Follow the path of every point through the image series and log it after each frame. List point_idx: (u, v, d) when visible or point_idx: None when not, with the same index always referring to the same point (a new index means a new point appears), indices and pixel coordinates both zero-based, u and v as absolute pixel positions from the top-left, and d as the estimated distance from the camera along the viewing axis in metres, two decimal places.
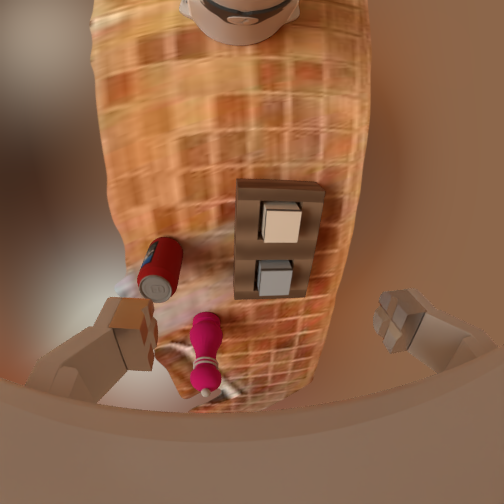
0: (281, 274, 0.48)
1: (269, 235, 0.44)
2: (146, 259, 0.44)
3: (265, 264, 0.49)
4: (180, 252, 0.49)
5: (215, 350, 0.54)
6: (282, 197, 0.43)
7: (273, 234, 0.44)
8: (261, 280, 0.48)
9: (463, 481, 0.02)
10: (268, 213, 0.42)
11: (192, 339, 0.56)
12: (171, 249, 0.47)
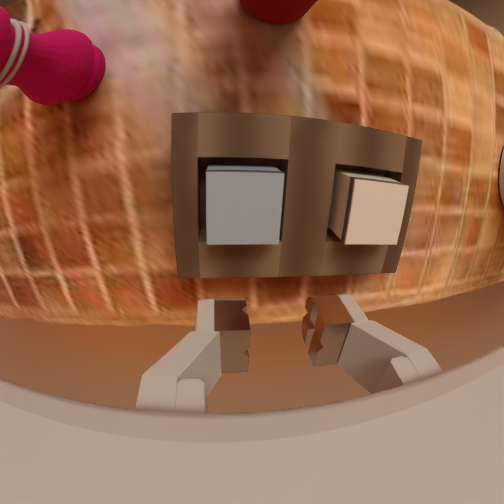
0: (271, 220, 0.20)
1: (368, 189, 0.20)
2: None
3: None
4: (289, 17, 0.17)
5: (31, 81, 0.11)
6: None
7: (368, 197, 0.20)
8: (256, 174, 0.19)
9: (463, 481, 0.02)
10: (405, 188, 0.20)
11: (60, 30, 0.12)
12: (314, 3, 0.15)
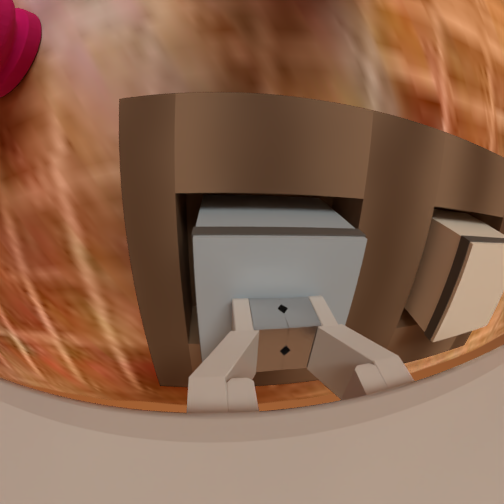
0: None
1: (482, 258, 0.09)
2: None
3: None
4: None
5: None
6: None
7: (480, 270, 0.10)
8: (309, 241, 0.08)
9: (463, 481, 0.02)
10: None
11: None
12: None
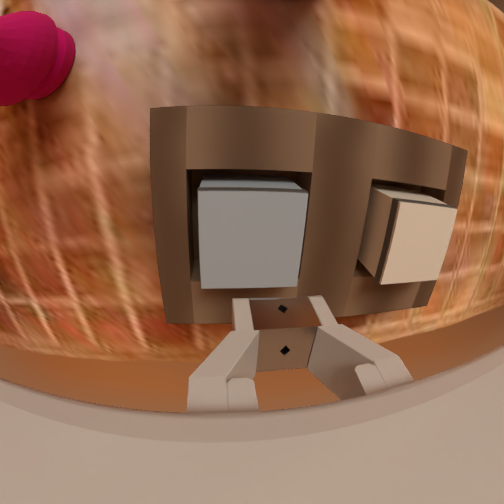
0: (288, 257, 0.15)
1: (414, 215, 0.14)
2: None
3: None
4: None
5: None
6: None
7: (413, 225, 0.15)
8: (269, 194, 0.13)
9: (463, 481, 0.02)
10: (453, 212, 0.15)
11: (16, 12, 0.06)
12: None
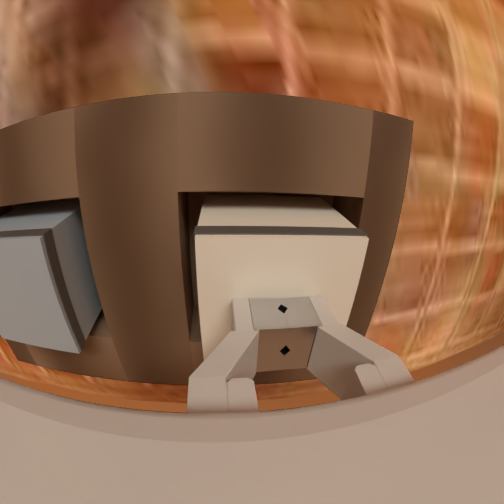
0: (52, 318, 0.09)
1: (239, 259, 0.08)
2: None
3: (70, 238, 0.10)
4: None
5: None
6: None
7: (244, 277, 0.09)
8: (7, 241, 0.07)
9: (463, 481, 0.02)
10: (358, 245, 0.08)
11: None
12: None
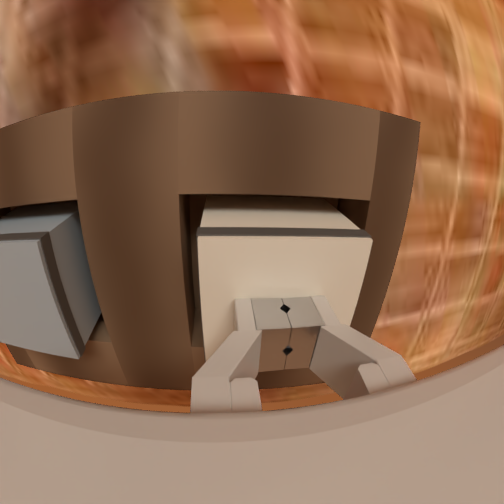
0: (50, 323, 0.08)
1: (242, 261, 0.08)
2: None
3: (69, 242, 0.09)
4: None
5: None
6: (365, 279, 0.11)
7: (247, 279, 0.08)
8: (4, 245, 0.07)
9: (463, 481, 0.02)
10: (361, 246, 0.08)
11: None
12: None
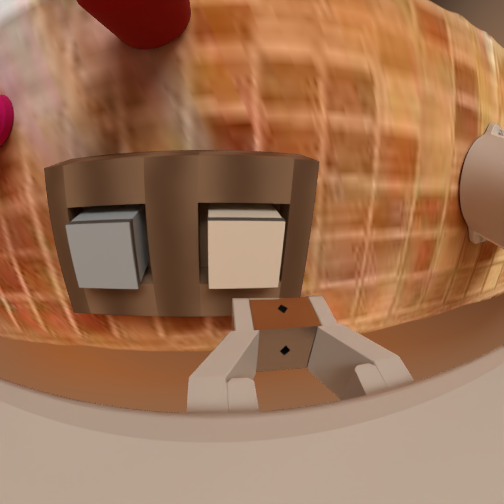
0: (126, 267, 0.19)
1: (226, 231, 0.19)
2: None
3: (137, 225, 0.20)
4: (158, 40, 0.16)
5: None
6: (292, 245, 0.23)
7: (228, 239, 0.20)
8: (104, 225, 0.18)
9: (463, 481, 0.02)
10: (280, 225, 0.20)
11: None
12: (178, 18, 0.14)
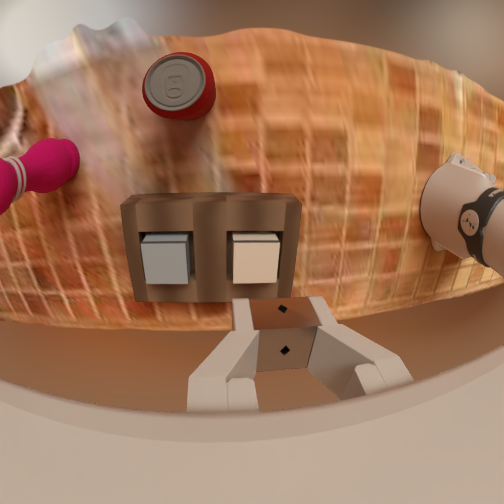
0: (181, 270, 0.33)
1: (244, 249, 0.33)
2: None
3: (187, 244, 0.34)
4: (195, 118, 0.29)
5: (32, 188, 0.24)
6: (285, 256, 0.36)
7: (246, 253, 0.33)
8: (168, 244, 0.31)
9: (463, 481, 0.02)
10: (276, 245, 0.33)
11: (43, 145, 0.24)
12: (209, 106, 0.28)
